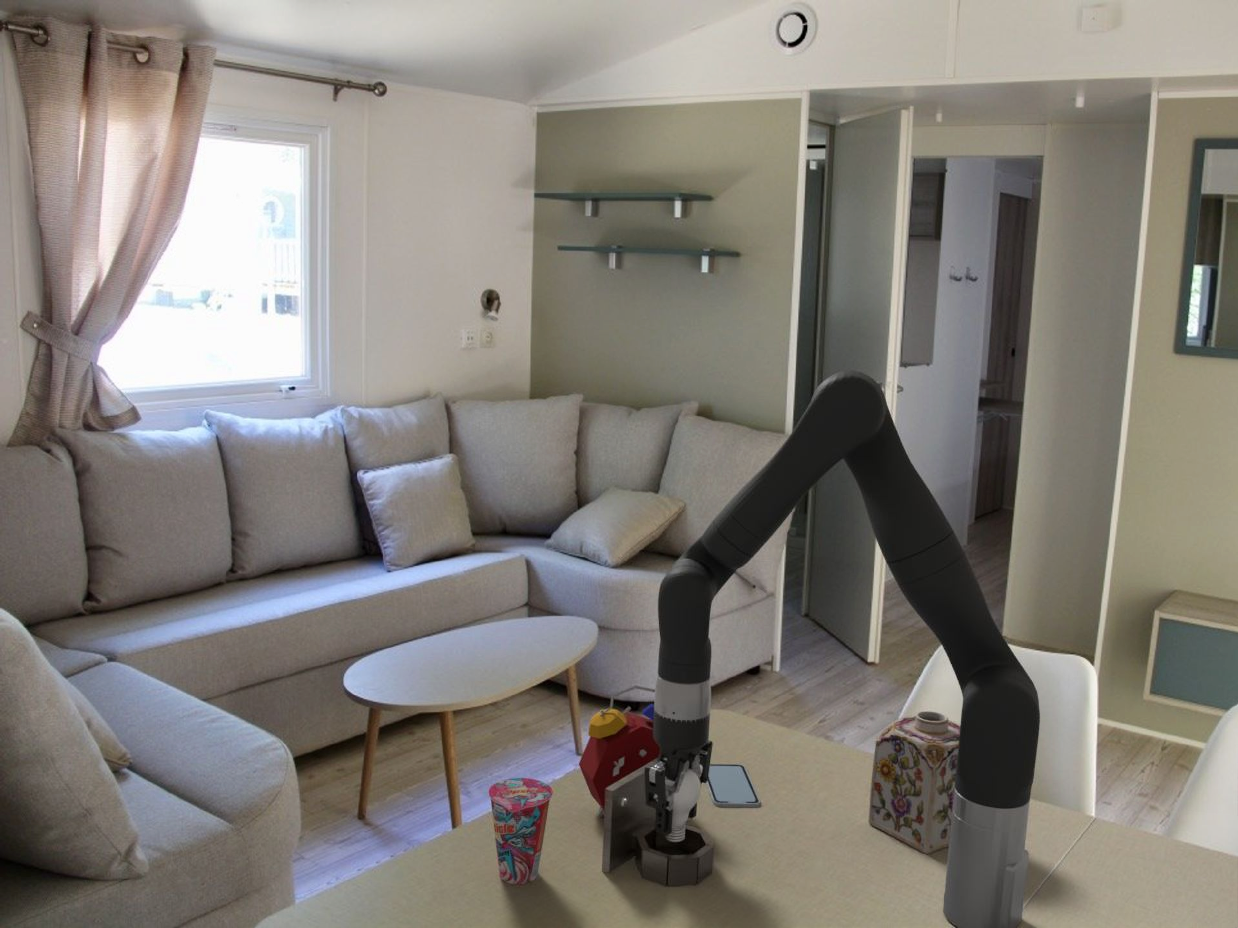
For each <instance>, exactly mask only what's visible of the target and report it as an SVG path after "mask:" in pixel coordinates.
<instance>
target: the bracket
mask: <svg viewBox="0 0 1238 928" xmlns="http://www.w3.org/2000/svg"><path fill="white" fill-rule="evenodd" d="M657 763H658V758H656V759H655V760H653V761H651V762H650V763H648V764H646V765H644V766H643V767H641V768H639V769H638V770H636V771H634V772H633V773H631V774H629V775H627V776H626V777H624V778H622V779H621V780H619V781H617V782H615V783H614V784H612V785H610V786H609V787H607V788H605V807H604V814H603V834H602V837H603V838H602V859H601V872H603V873H604V874H605V873H606V874H608V875H610V874H612V873H613V872H615V871H616V870H617V869H619V868H620V867H622V866H623V865H625V864H626V863H627V862H629V861H631V860H632V859H633V858H634V863H635V866H636V869H637V871H638V874H639V876H640V878H641V879H645V880H647V881H650V882H652V883H655V884H657V885H660V886H663V887H665V888H666V887H667V888H675V887H690V886H691V887H692V886H693V887H694V886H698V885H700V884H701V883H703V881H705V880H706V879H708V877H710V876H711V875H712V874H713V870H714V869H713V868H714V866H713V864H714V852H715V850H714V849H715V845H714V843H713V841H712V840H711V837H710V836H709V834H708V832H707V831H706V830H702V829H700V828H697V827H695V826H691V825H688V824H685V839H684V840H683V841H680V842H678V843H673V842H671V841H669V840H667V839H666V838H665V835H663V834H660V833H658V832H656V830H655V817H656V808H653V807H650V806H647V805H646V795H645V773H644V771H645V767H646V766H647V765H650V766H655V765H656V764H657ZM653 795H654V796H655V794H654V793H653Z"/></svg>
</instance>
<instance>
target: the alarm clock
mask: <svg viewBox="0 0 1238 928" xmlns="http://www.w3.org/2000/svg"><path fill="white" fill-rule="evenodd" d="M635 689H637V690H642V691H646V692H651V693H655V688H649V687H645V686H639V685H634V686H631V687H629V688H626V689H623V690H620V691H619V692H616V693H614V694H611V695H610V696H611V697H610V704H609V707H608V708H606V709H603V708H602V709H600V711H598V712H596V713H595V714H594V715H593V716H592V717H590V719H589V723H588V724H589V725H588V731H587V732H588V733H587V734H588V737H589V739H588V741H587V744H586V746H585V749H584V750H583V753H582V755H581V758H580V760H579V762H578V766H579V768H580V771H581V773H582V775H583V778H584V780H585V783H586V785H587V788H588V790H589V793H590V796H591V797H592V798H593V799H594V800H595V801H596V803H597V804H598V805H599V809H598V812H597V814H596V816H597V817H599V818H601V817H603V816H604V807H605V788H607V787H609V786H610V785H612V784H614V783H615V782H617V781H619V780H621V779H622V778H624V777H626V776H627V775H629V774H631V773H633V772H634V771H636V770H638V769H639V768H641V767H643V766H644V765H646V764H648V763H650V762H651V761H653V760H655V759H656V758H658V757H659V754H660V747H659V745H658V744H657V743H656V742H655V740H654V738H653V722H654V703H650V704H649V705H647V706H646V707H645V708H643V709H641V712H642V715H644V716H642V715H639V714H636V713H632V712H630V711H631V710H632V708H631V706H627V707H626V708H625V709H624V710H623V711H622V712H621V711H620V710H618V709H615V708H613V706H614V701H615V700H614V698H615V697H618V696H620V695H623V694H625V693H628V692H630V691H633V690H635Z"/></svg>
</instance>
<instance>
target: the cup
mask: <svg viewBox="0 0 1238 928" xmlns="http://www.w3.org/2000/svg"><path fill="white" fill-rule="evenodd" d="M553 791H554V790H553V789H552V787H551V786H550V785H549V784H548V783H546V782H543V781H542V780H539V779H535V778H527V777H514V778H505V779H503V780H500V781H498V782H496V783H494V784H492V785H491V786H490V788H489V790H488V797H489V799H490V803H491V811H492V818H493V819H492V820H493V828H494V829H493V830H494V839H495V846H496V847H495V848H496V854H497V856H496V857H497V864H498V871H499V872H498V873H499V874H498V875H499V878H500V879H501V880H503V881H504V883H505V882H506V883H508V884H513V885H523V884H524V885H525V884H529V883H531V882H534V881H535V879H537V878H538V875H539V868H540V862H541V855H542V851H543V844H544V837H545V833H546V832H545V831H546V826H547V819H548V811H549V806H550V801H551V798H552V796H553Z"/></svg>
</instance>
